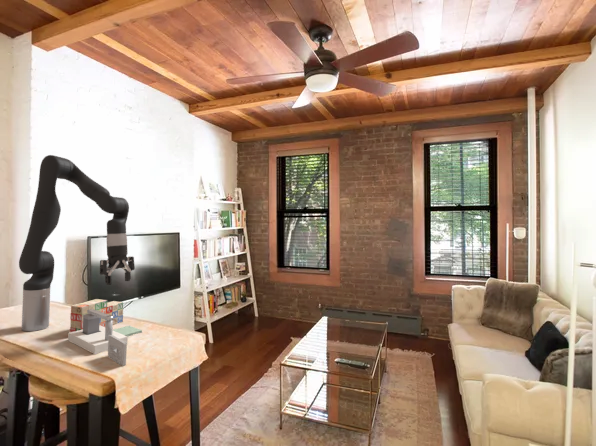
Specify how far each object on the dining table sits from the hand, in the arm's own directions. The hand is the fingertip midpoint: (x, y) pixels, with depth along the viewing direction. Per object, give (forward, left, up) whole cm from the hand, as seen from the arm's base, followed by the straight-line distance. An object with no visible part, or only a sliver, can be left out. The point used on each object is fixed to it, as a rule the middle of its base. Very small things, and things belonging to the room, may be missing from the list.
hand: (118, 282), depth 135 cm
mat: (0, +3, -22) cm, 22 cm away
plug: (-3, -9, -22) cm, 24 cm away
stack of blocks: (-16, 0, -22) cm, 27 cm away
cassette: (+24, -13, -22) cm, 35 cm away
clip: (+3, -9, -11) cm, 15 cm away
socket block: (+2, -9, -22) cm, 24 cm away
